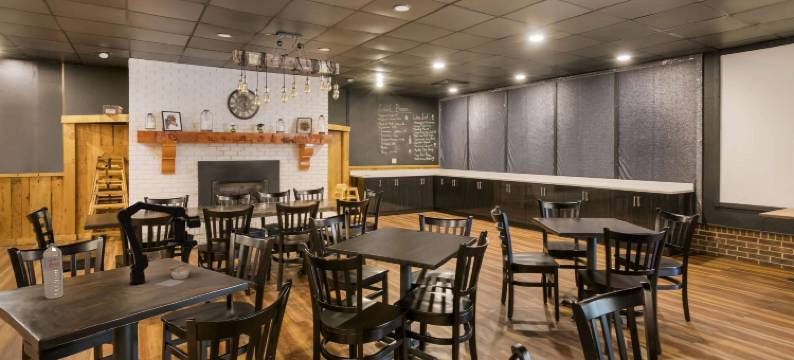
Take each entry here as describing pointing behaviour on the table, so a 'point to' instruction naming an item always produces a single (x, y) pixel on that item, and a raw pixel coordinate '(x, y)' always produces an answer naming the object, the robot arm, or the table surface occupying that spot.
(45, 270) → the water bottle
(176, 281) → the mat
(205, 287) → the table surface
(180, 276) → the bowl
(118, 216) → the robot arm
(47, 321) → the table surface
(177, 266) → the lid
